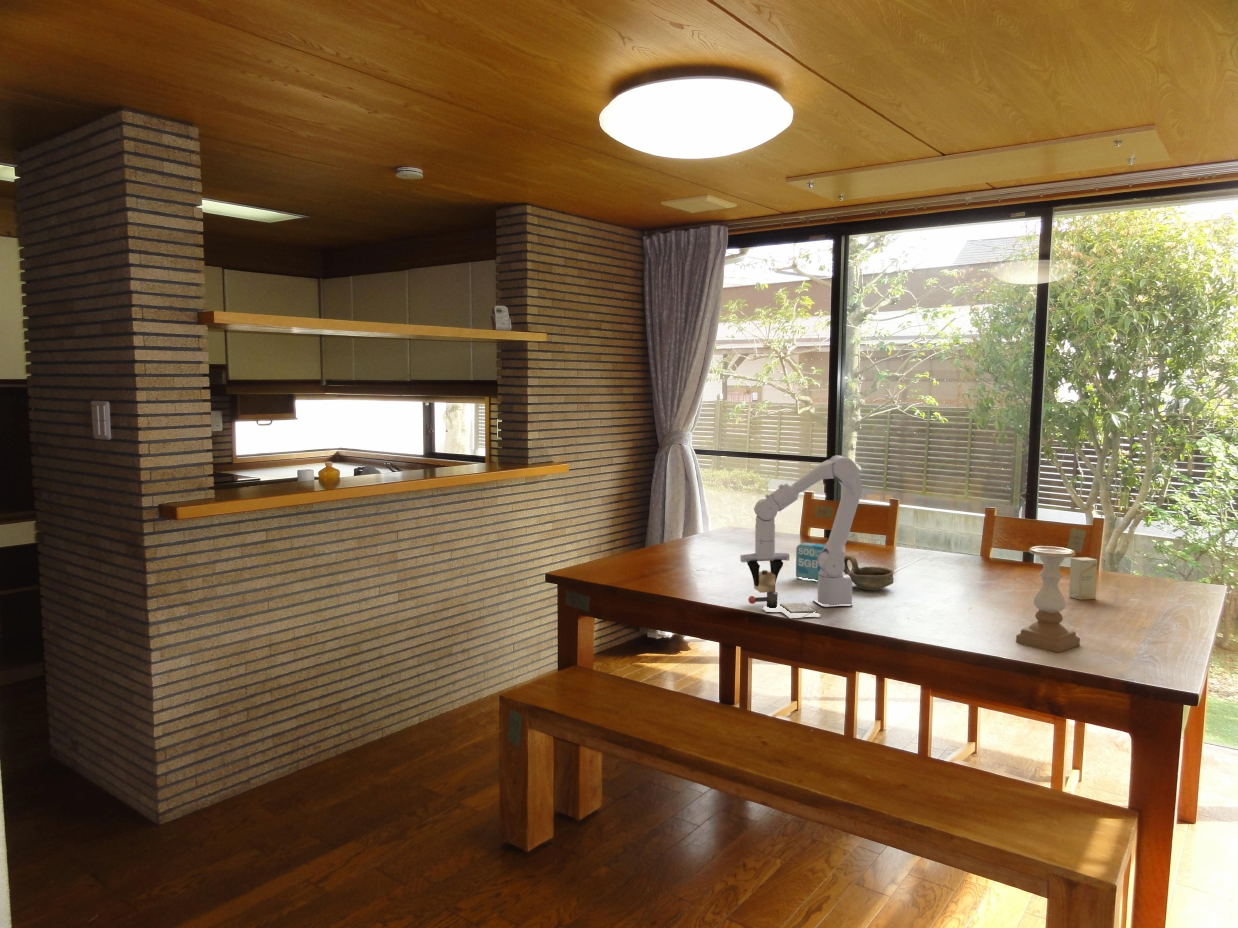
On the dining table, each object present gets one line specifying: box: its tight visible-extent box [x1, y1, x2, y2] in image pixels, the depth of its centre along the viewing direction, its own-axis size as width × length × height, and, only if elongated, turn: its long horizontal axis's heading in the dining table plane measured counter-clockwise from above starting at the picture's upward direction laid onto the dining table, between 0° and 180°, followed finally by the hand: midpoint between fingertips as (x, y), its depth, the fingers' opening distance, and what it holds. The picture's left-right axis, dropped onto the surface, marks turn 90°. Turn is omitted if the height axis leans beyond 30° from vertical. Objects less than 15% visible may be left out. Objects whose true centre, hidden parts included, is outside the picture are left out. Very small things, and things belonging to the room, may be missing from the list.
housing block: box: [753, 569, 776, 594], centre depth 245 cm, size 5×6×6 cm
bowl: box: [842, 554, 895, 591], centre depth 265 cm, size 14×18×10 cm
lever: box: [747, 591, 778, 608], centre depth 237 cm, size 9×3×4 cm, turn 100°
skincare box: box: [1068, 556, 1098, 601], centre depth 252 cm, size 6×4×12 cm
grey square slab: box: [780, 602, 821, 614], centre depth 236 cm, size 13×12×2 cm
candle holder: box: [1015, 545, 1081, 654], centre depth 206 cm, size 11×11×24 cm
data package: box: [795, 542, 825, 580], centre depth 275 cm, size 12×4×12 cm, turn 55°
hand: (764, 584), depth 245 cm, fingers closed on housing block, 5 cm apart
